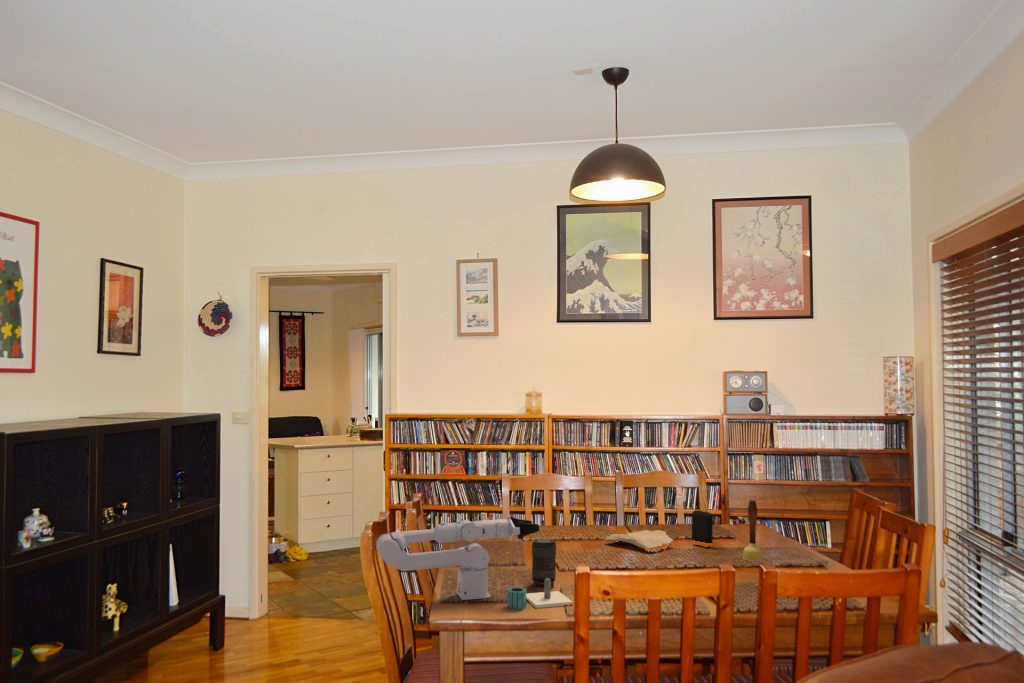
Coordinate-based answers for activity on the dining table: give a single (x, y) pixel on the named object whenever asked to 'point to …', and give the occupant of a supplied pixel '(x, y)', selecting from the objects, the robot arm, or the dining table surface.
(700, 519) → the carrying case or bag
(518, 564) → the dining table surface
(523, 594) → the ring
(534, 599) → the white base with peg
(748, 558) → the handbell
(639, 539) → the beige curved shard
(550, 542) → the camera lens
